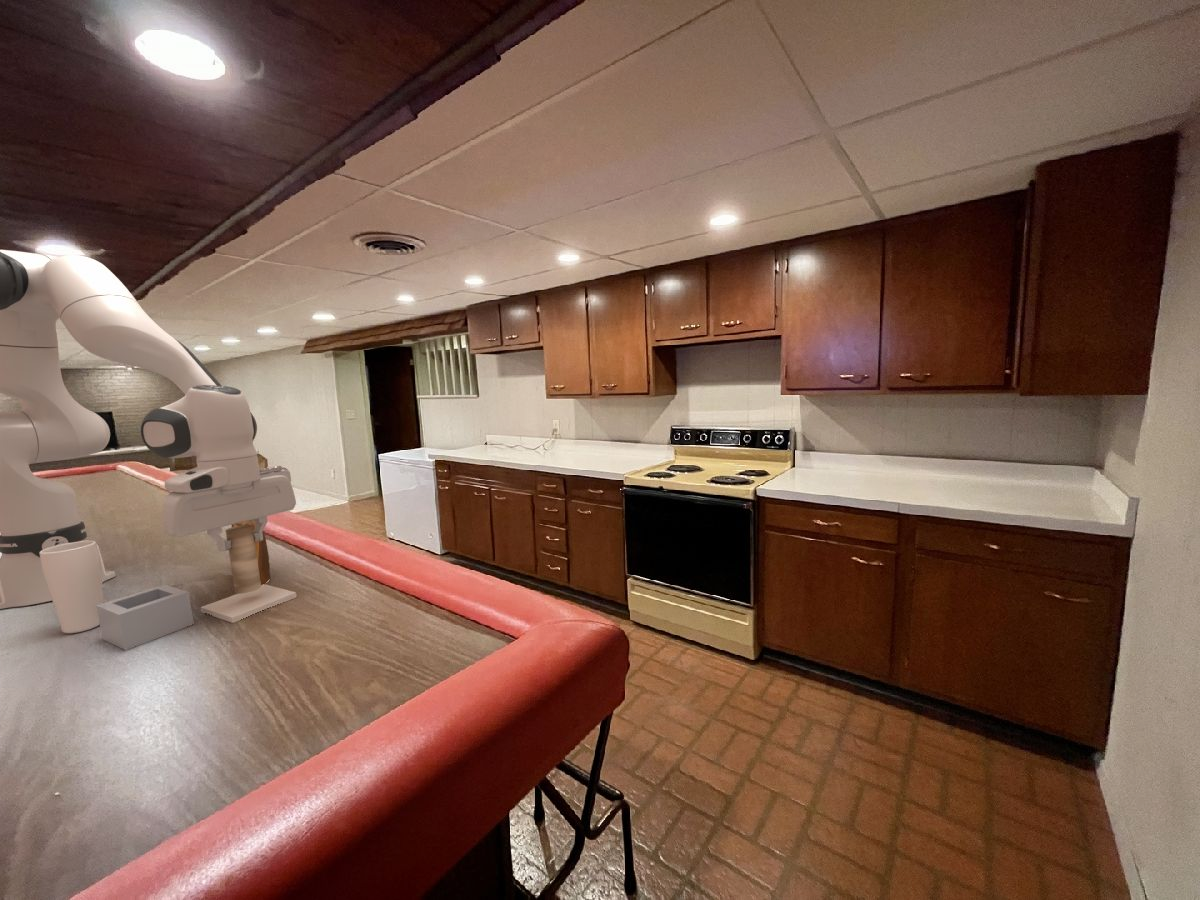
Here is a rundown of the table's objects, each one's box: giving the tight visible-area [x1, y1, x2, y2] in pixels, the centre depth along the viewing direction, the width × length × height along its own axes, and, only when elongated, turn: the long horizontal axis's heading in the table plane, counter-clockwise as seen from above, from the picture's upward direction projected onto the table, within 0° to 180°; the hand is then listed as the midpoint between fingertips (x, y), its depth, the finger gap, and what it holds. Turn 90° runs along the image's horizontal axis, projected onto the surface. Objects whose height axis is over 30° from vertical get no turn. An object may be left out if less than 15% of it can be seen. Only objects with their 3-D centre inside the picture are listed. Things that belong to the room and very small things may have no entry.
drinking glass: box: [39, 540, 104, 634], centre depth 83 cm, size 7×7×15 cm
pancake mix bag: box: [231, 453, 271, 585], centre depth 103 cm, size 7×19×28 cm, turn 48°
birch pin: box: [225, 525, 261, 594], centre depth 89 cm, size 4×4×12 cm
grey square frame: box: [96, 584, 195, 651], centre depth 81 cm, size 9×9×6 cm
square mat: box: [200, 584, 297, 624], centre depth 90 cm, size 11×11×1 cm
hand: (241, 545), depth 89 cm, fingers closed on birch pin, 4 cm apart
